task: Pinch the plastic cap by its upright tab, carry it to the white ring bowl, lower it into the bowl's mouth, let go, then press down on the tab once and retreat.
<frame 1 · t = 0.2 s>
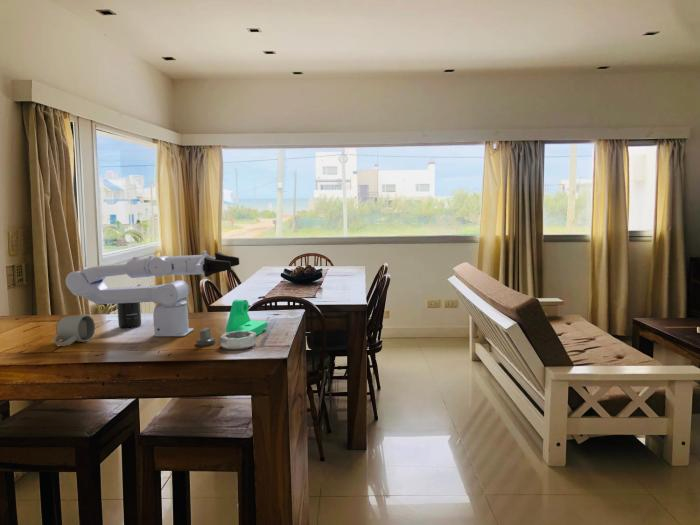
hand: (234, 263, 161), 21 cm above the table, tool horizontal, fingers open, 7 cm apart
ceramic mug: (74, 343, 159), on the table
camera mount: (248, 334, 164), on the table
supplement bottle: (130, 327, 176), on the table
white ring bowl: (238, 345, 151), on the table
cap: (205, 344, 154), on the table
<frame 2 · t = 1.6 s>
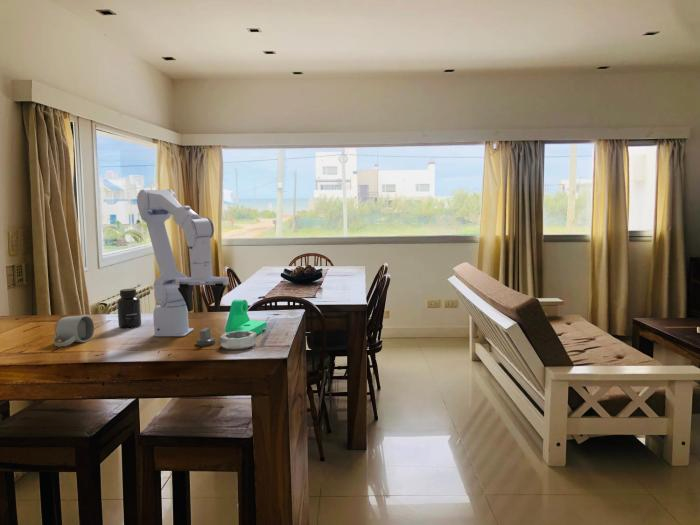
hand: (203, 310, 152), 9 cm above the table, tool pointing down, fingers open, 7 cm apart
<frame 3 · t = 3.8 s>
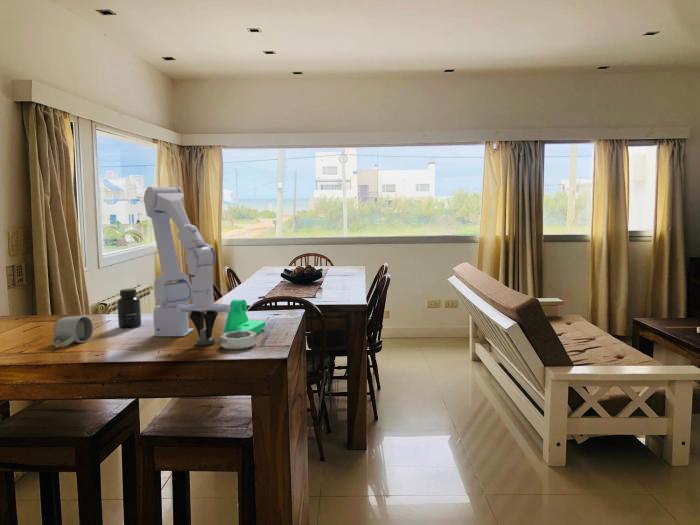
hand: (205, 337, 153), 2 cm above the table, tool pointing down, fingers closed on cap
cap: (205, 343, 154), on the table, touching gripper
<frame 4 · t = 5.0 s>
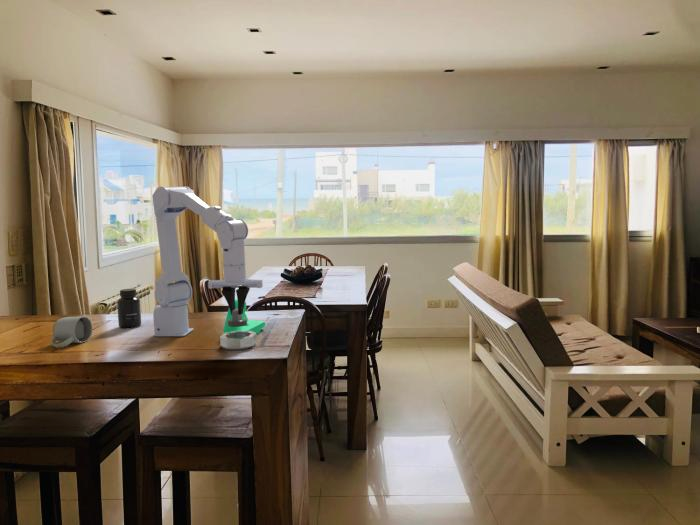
hand: (237, 313, 150), 9 cm above the table, tool pointing down, fingers closed on cap
cap: (237, 324, 150), point 6 cm above the table, touching gripper
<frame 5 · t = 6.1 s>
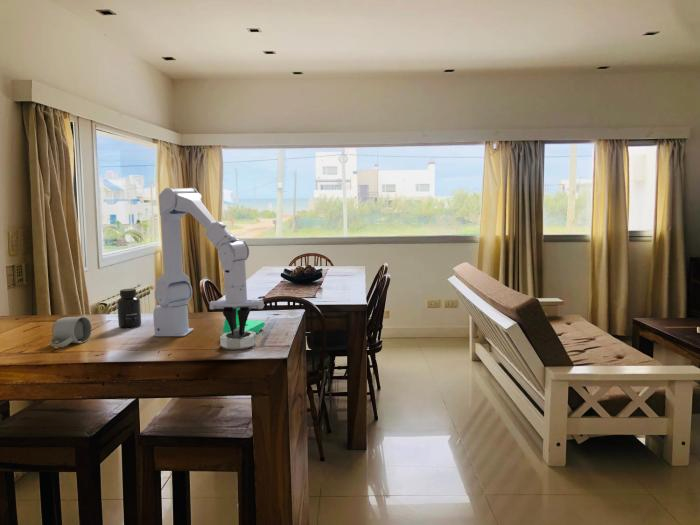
hand: (238, 334, 150), 3 cm above the table, tool pointing down, fingers closed on cap
cap: (238, 343, 151), resting on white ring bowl, touching gripper
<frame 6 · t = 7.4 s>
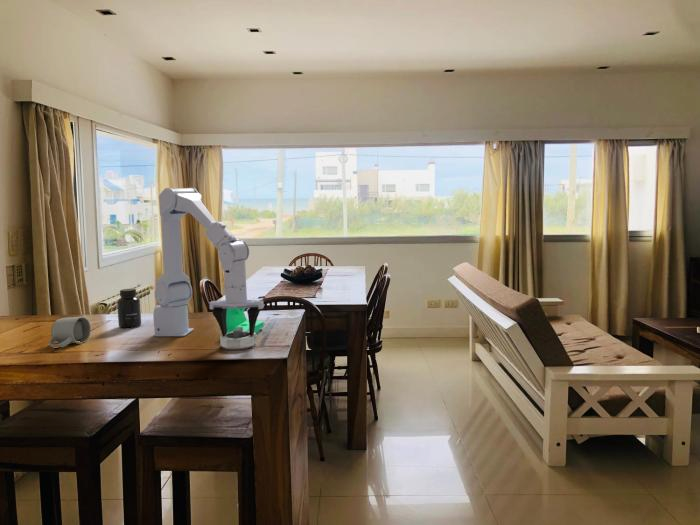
hand: (238, 334, 150), 3 cm above the table, tool pointing down, fingers open, 7 cm apart
cap: (238, 343, 151), resting on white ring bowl
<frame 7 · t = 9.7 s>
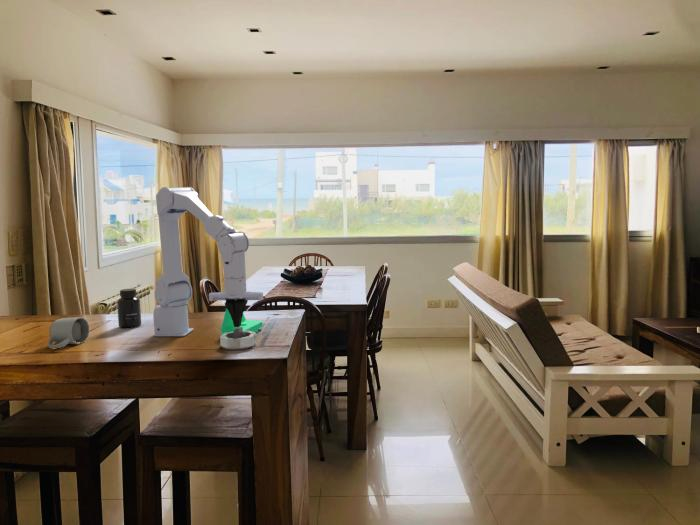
hand: (237, 326, 150), 5 cm above the table, tool pointing down, fingers closed
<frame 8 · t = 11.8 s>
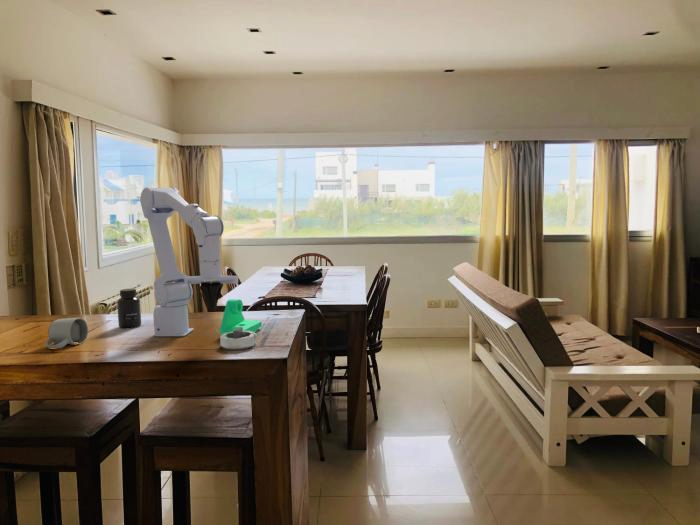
hand: (213, 309, 151), 10 cm above the table, tool pointing down, fingers closed
at the end: cap 0.1 cm off-centre on the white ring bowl, point 0.5 cm above the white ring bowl's base; cap tilted 0°; the gripper is holding nothing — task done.
